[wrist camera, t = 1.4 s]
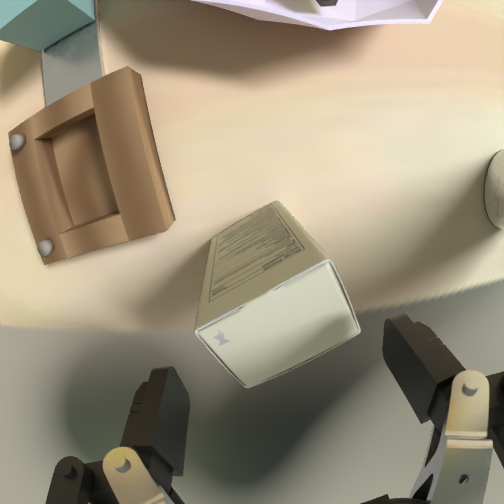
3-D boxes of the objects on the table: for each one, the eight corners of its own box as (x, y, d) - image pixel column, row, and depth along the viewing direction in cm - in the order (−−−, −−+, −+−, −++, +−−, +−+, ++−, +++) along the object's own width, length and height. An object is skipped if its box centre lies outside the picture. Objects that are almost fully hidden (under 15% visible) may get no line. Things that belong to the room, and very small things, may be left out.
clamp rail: (96, -37, 11) (94, -39, 11) (107, 88, 17) (104, 87, 17) (46, -9, 12) (44, -10, 11) (50, 117, 17) (47, 117, 17)
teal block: (93, -23, 12) (59, -55, 5) (95, 20, 14) (52, -10, 7) (41, 7, 12) (0, -13, 5) (40, 52, 14) (-9, 37, 8)
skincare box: (238, 280, 24) (240, 394, 12) (209, 237, 22) (184, 334, 11) (306, 242, 23) (366, 336, 11) (281, 196, 21) (332, 258, 10)
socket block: (141, 75, 17) (121, 62, 13) (175, 219, 22) (163, 235, 18) (28, 131, 17) (0, 133, 14) (61, 252, 22) (38, 269, 18)
